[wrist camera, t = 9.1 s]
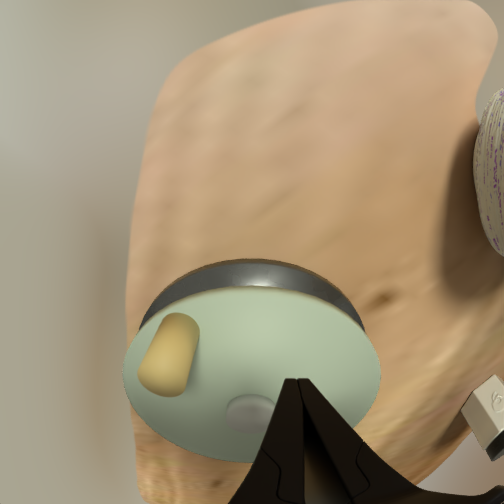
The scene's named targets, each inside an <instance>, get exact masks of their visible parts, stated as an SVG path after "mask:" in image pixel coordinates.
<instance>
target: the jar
mask: <svg viewBox="0 0 504 504" xmlns="http://www.w3.org/2000/svg"><path fill="white" fill-rule="evenodd" d="M461 412H462V414H463V416H464V417H465V419H466V421H467V422H468V424H469V426H470V427H471V429H472V431H473V433H474V434H475V436H476V438H477V440H478V441H479V443H480V445H481V447H482V449H483V450H486V452H487V454H488V455H489V457H490V459H491V461H495V460H496V459H498V458H500V457H501V456H502V455H504V381H503V380H502V379H501V378H500V377H498V376H496V375H495V374H494V375H492V376H491V377H490V378H489V379H487V380H486V381H485V382H484V383H483V384H481V385H480V386H479V387H477V388H476V389H475V390H474V391H473V392H472V393H471V395H470V397H469V398H468V400H467V401H466V403H465V404H464V406H463V407H462V409H461Z"/></svg>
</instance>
